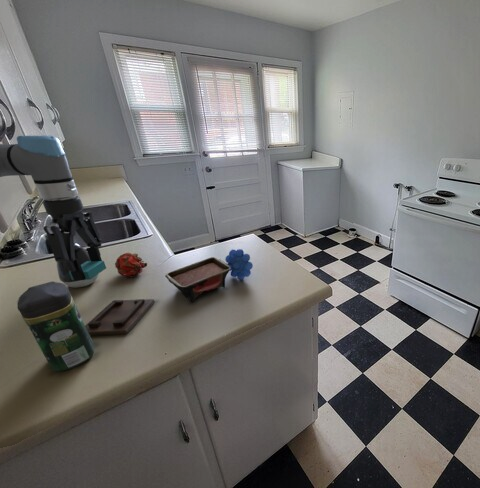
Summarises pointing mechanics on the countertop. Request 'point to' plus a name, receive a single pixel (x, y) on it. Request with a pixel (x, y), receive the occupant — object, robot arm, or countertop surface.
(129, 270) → the dragon fruit
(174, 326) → the countertop surface
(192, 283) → the rectangular planter
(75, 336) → the coffee jar
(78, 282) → the black rounded piece
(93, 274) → the pad
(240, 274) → the blue lumpy round piece
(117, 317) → the back plate
